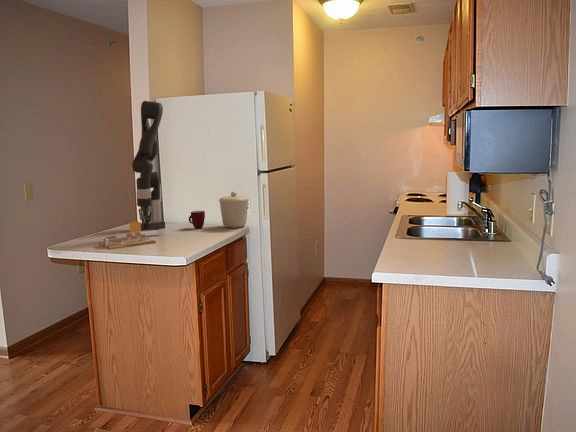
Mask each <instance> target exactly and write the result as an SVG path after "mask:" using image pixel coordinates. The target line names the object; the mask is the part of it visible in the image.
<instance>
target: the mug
mask: <svg viewBox="0 0 576 432" xmlns="http://www.w3.org/2000/svg"><path fill="white" fill-rule="evenodd" d="M205 213H206V212H205V210H191V211H190V215H189V217H188V221H189V223H190V224H192V226H193V228H194V229H195V230H201V229H203V227H204V225H205V220H206V219H205V218H206V214H205Z"/></svg>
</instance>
